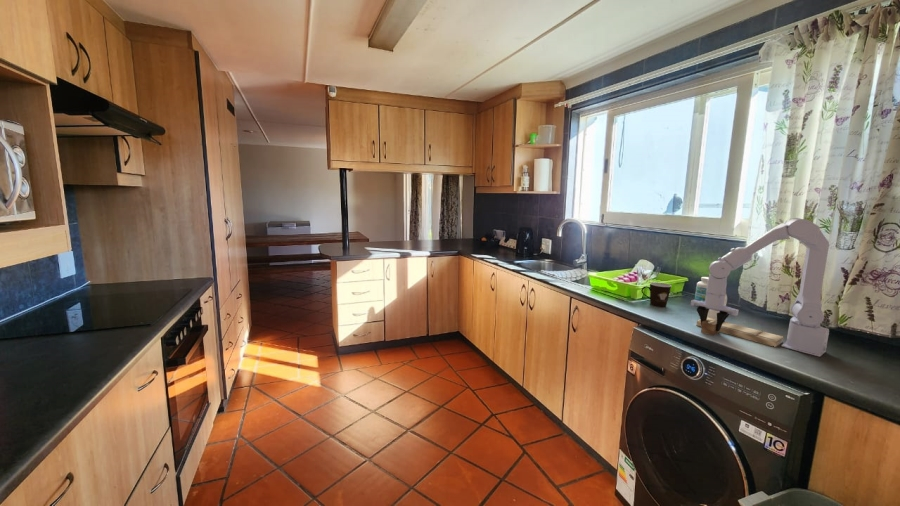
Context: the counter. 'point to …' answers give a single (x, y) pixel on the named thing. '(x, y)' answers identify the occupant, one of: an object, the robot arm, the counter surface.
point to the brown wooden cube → (709, 327)
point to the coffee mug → (658, 294)
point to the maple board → (748, 333)
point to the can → (713, 313)
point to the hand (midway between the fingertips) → (710, 328)
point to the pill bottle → (701, 289)
